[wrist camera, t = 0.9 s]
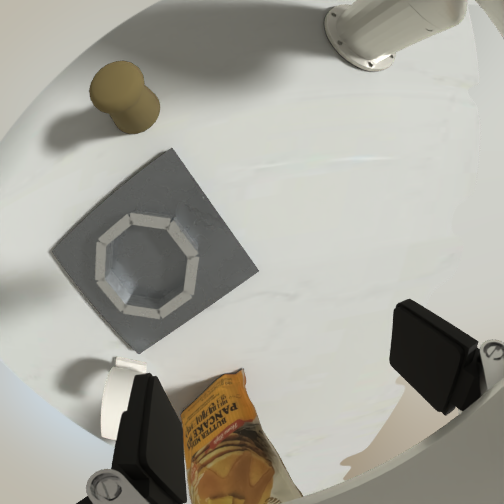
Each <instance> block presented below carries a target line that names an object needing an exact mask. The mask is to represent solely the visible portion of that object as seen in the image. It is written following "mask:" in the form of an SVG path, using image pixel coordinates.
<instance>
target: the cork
mask: <svg viewBox="0 0 504 504" xmlns="http://www.w3.org/2000/svg"><path fill="white" fill-rule="evenodd" d="M89 92H90V99H91V101H92V103H93V105H94V106H95V107H96V108H97V109H99V110H100V111H101V112H104V113H108V114H110V116H111V118H112V119H113V121H114V123H115V124H116V126H117V128H119V129H120V130H121V131H122V132H125V133H128V134H137V133H141V132H144V131H145V130H147V129H148V128H150V127H151V126H152V125H153V124H154V123H155V122H156V120H157V118H158V116H159V112H160V103H159V100H158V98H157V96H156V95H155V94H154V93H153V92H152V91H151V90H150V89H149V88H148V87H146V86H145V85H144V77H143V74H142V72H141V71H140V69H139V68H138V67H137V66H135V65H134V64H133V63H131V62H127V61H116V62H113V63H110V64H107V65H106V66H104V67H103V68H101V69H100V70H99V71H98V72H97V74H96V75H95V76H94V78H93V80H92V82H91V85H90V90H89Z"/></svg>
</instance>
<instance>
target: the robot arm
mask: <svg viewBox="0 0 504 504" xmlns="http://www.w3.org/2000/svg"><path fill="white" fill-rule="evenodd" d="M475 1H476V2H477V3H478V4H479V6H480V7H481V8H482V9H483V10H484V11H485V13H486V14H487V15H488V17H489V18H490V19H491V21H492V22H493V23H494V25H495V26H496V28H497V29H498V30H499V32H500V34H501V35H502V37H503V38H504V0H475ZM466 10H467V0H356V1H355V2H354V3H353V4H352V5H346V4H345V5H339V6H336V7H334V8H333V9H331V10H330V11H329V12H328V13H327V15H326V17H325V22H324V25H325V31H326V34H327V37H328V39H329V41H330V42H331V44H332V45H333V47H334V48H335V49H336V50H337V51H338V53H339V54H340V55H341V56H343V57H344V58H345V59H346V60H347V61H349V62H350V63H352V64H353V65H355V66H357V67H359V68H361V69H364V70H367V71H381V70H384V69H386V68H388V67H390V66H391V65H392V64H393V62H394V60H395V57H396V52H398V51H400V50H402V49H404V48H406V47H408V46H410V45H413V44H415V43H417V42H419V41H421V40H424V39H426V38H428V37H430V36H433V35H435V34H437V33H440V32H442V31H445V30H447V29H450V28H452V27H454V26H456V25H458V24H459V23H461V21H462V20H463V19H464V17H465V14H466ZM477 345H478V341H477V340H475V339H474V338H472V337H470V336H469V335H468V334H466V333H464V332H463V331H461V330H460V329H458V328H457V327H455V326H453V325H452V324H450V323H449V322H447V321H445V320H444V319H442V318H441V317H439V316H437V315H436V314H434V313H433V312H431V311H429V310H428V309H426V308H424V307H423V306H421V305H420V304H418V303H416V302H415V301H413V300H411V299H407V300H405V301H402V302H400V303H398V304H397V305H396V308H395V309H394V313H393V328H392V339H391V349H390V358H389V361H390V364H391V366H392V367H393V368H394V369H395V370H396V371H397V372H398V373H399V374H400V375H401V376H402V377H403V378H404V379H405V380H406V381H407V382H408V383H409V384H410V385H411V386H412V387H413V388H414V389H415V390H416V391H417V392H418V393H419V394H421V396H422V397H423V398H424V399H425V400H426V401H427V402H428V403H430V405H431V406H432V407H433V408H434V409H435V410H437V411H438V412H442V413H443V414H444V415H447V414H449V413H450V412H451V411H453V410H454V409H455V407H457V408H458V409H459V415H458V416H457V417H455V418H454V419H453V420H451V421H450V422H449V423H448V424H446V425H445V426H443V427H442V428H440V429H439V430H437V431H436V432H435V433H433V434H432V435H430V436H429V437H427V438H426V439H424V440H423V441H421V442H419V443H418V444H416V445H415V446H413V447H411V448H410V449H408V450H406V451H405V452H403V453H401V454H399V455H398V456H396V457H394V458H392V459H390V460H389V461H387V462H385V463H383V464H381V465H379V466H377V467H375V468H373V469H371V470H369V471H367V472H365V473H363V474H360V475H358V476H356V477H354V478H352V479H349V480H347V481H345V482H342V483H340V484H337V485H335V486H332V487H329V488H327V489H324V490H321V491H319V492H316V493H313V494H310V495H307V496H304V497H301V498H297V499H294V500H291V501H287V502H284V503H280V504H504V343H503V342H502V341H499V340H488V341H485V342H484V343H483V344H482V345H481V347H480V349H478V348H477ZM86 492H87V494H88V496H87V497H85V498H84V499H82V500H81V501H79V502H78V503H76V504H183V503H186V502H187V494H186V481H185V464H184V441H183V427H182V424H181V422H180V420H179V418H178V416H177V415H176V413H175V411H174V409H173V407H172V405H171V403H170V401H169V399H168V397H167V395H166V393H165V391H164V389H163V387H162V385H161V383H160V381H159V379H158V377H157V376H152V374H151V373H146V374H139V375H135V377H134V380H133V385H132V389H131V393H130V398H129V403H128V407H127V411H124V412H123V413H122V415H121V419H120V424H119V429H118V434H117V439H116V444H115V449H114V455H113V461H112V468H111V469H104V470H100V471H98V472H96V473H94V474H93V475H92V476H91V477H90V478H89V480H88V482H87V485H86Z"/></svg>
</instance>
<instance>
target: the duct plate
mask: <svg viewBox="0 0 504 504" xmlns="http://www.w3.org/2000/svg"><path fill="white" fill-rule="evenodd" d="M52 252H53V253H54V255H55V256H56V258H57V259H58V261H59V262H60V263H61V265H62V266H63V267H64V269H65V270H66V272H67V273H68V274H69V276H70V277H71V278H72V279H73V281H74V282H75V283H76V285H77V286H78V287H79V288H80V290H81V291H82V292H83V293H84V295H85V296H86V297H87V298H88V300H89V301H90V302H91V303H92V304H93V306H94V307H95V308H96V309H97V310H98V311H99V313H100V314H101V315H102V316H103V317H104V318H105V319H106V321H107V322H108V323H109V324H110V325H111V326H112V327H113V328H114V329H115V330H116V331H117V333H118V334H119V335H120V336H121V337H122V338H123V339H124V340H125V341H126V342H127V343H128V344H129V345H130V346H131V347H132V348H133V349H134V350H135V351H136V352H137V353H138V354H140V353H141V352H143V351H144V350H146V349H147V348H149V347H150V346H152V345H153V344H155V343H156V342H158V341H159V340H161V339H162V338H164V337H165V336H167V335H168V334H170V333H171V332H172V331H174V330H175V329H177V328H178V327H180V326H181V325H183V324H184V323H186V322H187V321H189V320H190V319H191V318H193V317H194V316H196V315H197V314H199V313H200V312H202V311H203V310H204V309H206V308H207V307H209V306H210V305H212V304H213V303H215V302H216V301H217V300H219V299H220V298H222V297H223V296H225V295H226V294H227V293H229V292H230V291H232V290H233V289H234V288H236V287H237V286H239V285H240V284H242V283H243V282H244V281H246V280H247V279H249V278H250V277H251V276H253V275H254V274H256V273H257V272H258V271H259V270H258V269H257V267H256V266H255V264H254V263H253V262H252V260H251V259H250V257H249V256H248V255H247V253H246V252H245V250H244V249H243V247H242V246H241V245H240V243H239V242H238V240H237V239H236V238H235V236H234V235H233V233H232V232H231V231H230V229H229V228H228V226H227V225H226V223H225V222H224V221H223V219H222V218H221V216H220V215H219V214H218V212H217V211H216V209H215V208H214V206H213V205H212V204H211V202H210V201H209V199H208V198H207V197H206V195H205V194H204V192H203V191H202V189H201V188H200V187H199V185H198V184H197V182H196V181H195V180H194V178H193V177H192V175H191V174H190V172H189V171H188V170H187V168H186V167H185V165H184V164H183V162H182V161H181V160H180V158H179V157H178V155H177V154H176V152H175V151H174V150H173V148H171V149H169V150H168V151H166V152H165V153H164V154H162V155H161V156H160V157H158V158H157V159H156V160H154V161H153V162H152V163H150V164H149V165H148V166H146V167H145V168H144V169H142V170H141V171H140V172H138V173H137V174H136V175H135V176H133V177H132V178H131V179H130V180H128V181H127V182H126V183H125V184H124V185H122V186H121V187H120V188H119V189H118V190H116V191H115V192H114V193H113V194H112V195H110V196H109V197H108V198H107V199H106V200H105V201H104V202H102V203H101V204H100V205H99V206H98V207H97V208H96V209H95V210H93V211H92V212H91V213H90V214H89V215H88V216H87V217H86V218H85V219H84V220H83V221H82V222H81V223H79V224H78V225H77V226H76V227H75V228H74V229H73V230H72V231H71V232H70V233H69V234H68V235H67V236H66V237H65V238H64V239H63V240H62V241H61V242H60V243H59V244H58V245H57V246H56V247H55V248H54V250H53V251H52Z"/></svg>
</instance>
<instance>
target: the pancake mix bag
mask: <svg viewBox="0 0 504 504" xmlns="http://www.w3.org/2000/svg"><path fill="white" fill-rule="evenodd" d="M245 384H246V377H245V373H244V368H243V369H242V370H240V371H239V372H237V373H236V374H224V375H223V376H221V377H220V378H218V379H217V380H216V381H215V382H214V383H212V384H211V385H210V386H209V387H208V388H207V389H206V390H205V391H204V392H203V393H202V394H201V395H200V396H199V397H198V398H197V399H196V400H195V401H194V402H193V403H191V404H190V405H189V406H188V407H187V408H186V409H185V410H184V411H183V412H182V413H181V419H182V427H183V441H184V457H185V462H186V472H187V482H188V489H189V496H190V499H191V503H192V504H280V503H284V502H287V501H291V500H294V499H297V498H301V497H303V495H302V493H301V492H300V491H299V489H298V488H297V487H296V486H295V484H294V483H293V481H292V479H291V477H290V475H289V473H288V472H287V470H286V468H285V466H284V464H283V462H282V460H281V458H280V456H279V454H278V453H277V451H276V449H275V448H274V446H273V445H272V443H271V442H270V441H269V439H268V438H267V436H266V435H265V433H264V431H263V430H262V427H261V424H260V421H259V418H258V415H257V413H256V410H255V407H254V405H253V404H252V402H251V401H250V399H249V397H248V395H247V392H246V388H245Z"/></svg>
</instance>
